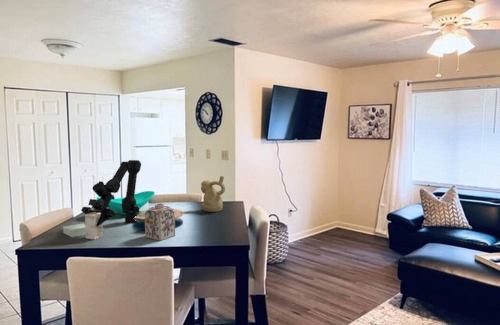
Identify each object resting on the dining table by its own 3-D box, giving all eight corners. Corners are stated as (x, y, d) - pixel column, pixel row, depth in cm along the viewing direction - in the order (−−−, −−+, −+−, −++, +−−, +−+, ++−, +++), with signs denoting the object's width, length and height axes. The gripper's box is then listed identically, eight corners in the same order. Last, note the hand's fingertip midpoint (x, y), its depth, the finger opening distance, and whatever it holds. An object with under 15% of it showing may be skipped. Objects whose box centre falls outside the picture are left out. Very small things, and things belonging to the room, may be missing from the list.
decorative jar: (160, 232, 207) (159, 201, 206) (175, 235, 202) (175, 203, 200) (144, 238, 197) (143, 205, 196) (160, 241, 191) (159, 207, 190)
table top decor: (103, 221, 233) (103, 201, 232) (92, 214, 255) (91, 195, 254) (162, 212, 257) (161, 194, 256) (146, 206, 279) (146, 189, 278)
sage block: (85, 229, 217) (84, 222, 217) (93, 233, 209) (93, 226, 208) (63, 233, 208) (63, 226, 208) (71, 237, 200) (71, 230, 200)
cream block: (93, 234, 203) (93, 211, 201) (102, 236, 201) (102, 213, 199) (85, 238, 197) (85, 214, 195) (94, 239, 195) (94, 215, 194)
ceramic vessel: (207, 206, 275) (206, 173, 273) (230, 209, 267) (230, 175, 265) (194, 211, 260) (194, 176, 257) (219, 214, 252) (218, 177, 249)
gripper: (82, 192, 203) (68, 216, 194) (111, 193, 198) (98, 218, 188) (93, 203, 211) (79, 227, 202) (120, 205, 206) (108, 229, 196)
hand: (91, 225), depth 197 cm, fingers closed on cream block, 7 cm apart
